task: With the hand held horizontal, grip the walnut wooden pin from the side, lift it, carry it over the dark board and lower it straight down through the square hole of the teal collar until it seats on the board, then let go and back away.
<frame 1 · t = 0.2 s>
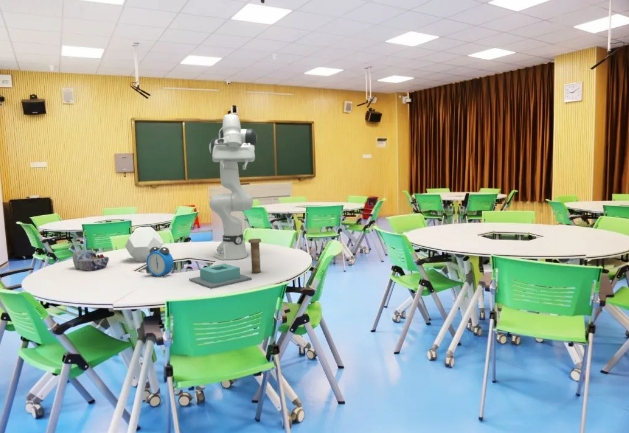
hand: (234, 169, 215), 54 cm above the table, tool tilted 25°, fingers open, 8 cm apart
pin: (256, 272, 235), on the table
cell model: (90, 269, 259), on the table
geometric form: (146, 260, 277), on the table
alarm clock: (161, 275, 235), on the table
socket board: (220, 280, 221), on the table
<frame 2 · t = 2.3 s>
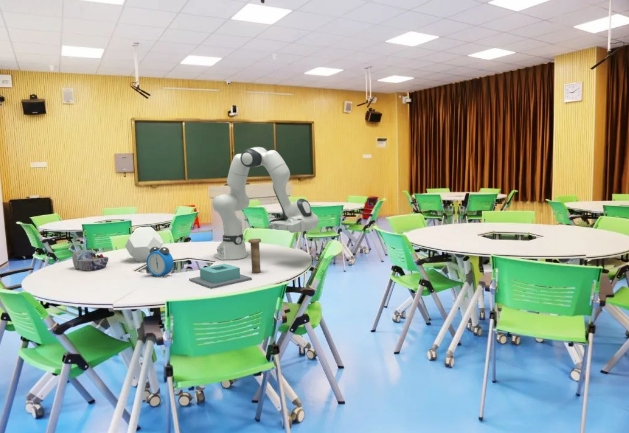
hand: (273, 227, 240), 22 cm above the table, tool horizontal, fingers open, 8 cm apart
nothing on the table moved.
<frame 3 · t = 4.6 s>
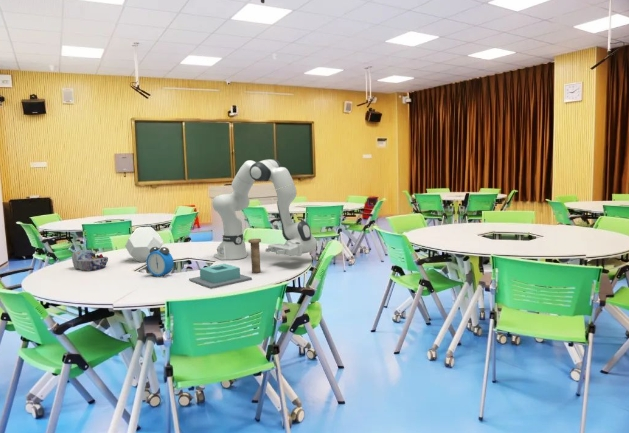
hand: (271, 251, 240), 9 cm above the table, tool horizontal, fingers open, 8 cm apart
nothing on the table moved.
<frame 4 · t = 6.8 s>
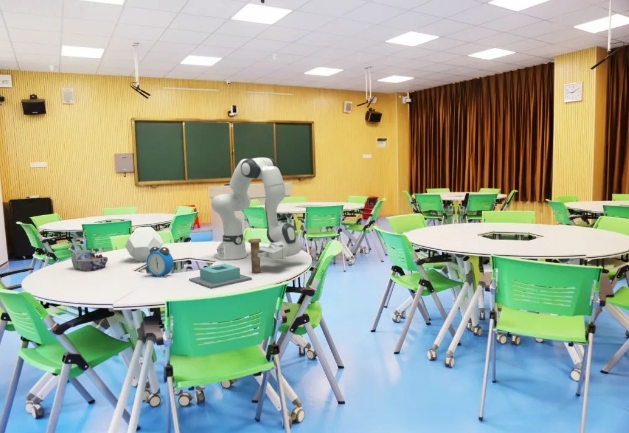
hand: (253, 254, 233), 10 cm above the table, tool horizontal, fingers closed on pin, 4 cm apart
pin: (256, 272, 235), on the table, touching gripper
everything else where it was.
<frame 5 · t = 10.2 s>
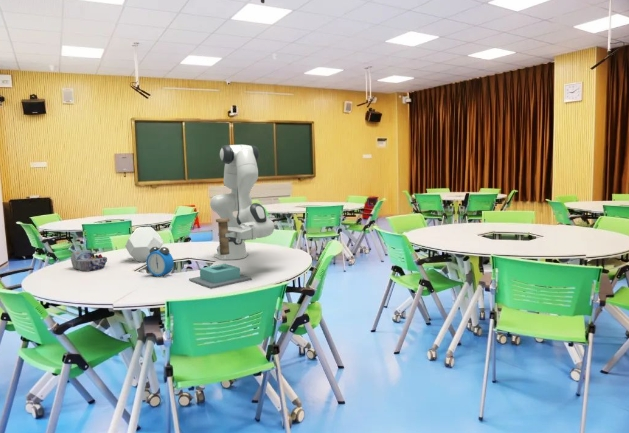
hand: (221, 234, 220), 22 cm above the table, tool horizontal, fingers closed on pin, 4 cm apart
pin: (224, 253, 221), point 13 cm above the table, touching gripper
everything else where it was.
when the fingers open (11 cm above the table, at t = 13.4 s): pin stays where it is, resting on socket board.
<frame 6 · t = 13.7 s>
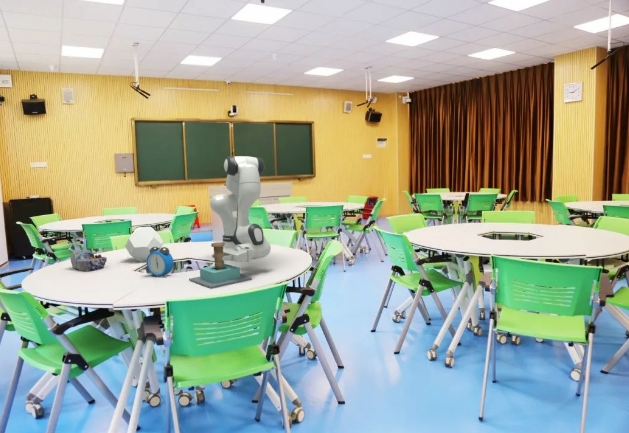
hand: (217, 257, 219), 11 cm above the table, tool horizontal, fingers open, 7 cm apart
pin: (220, 278, 221), point 1 cm above the table, touching socket board
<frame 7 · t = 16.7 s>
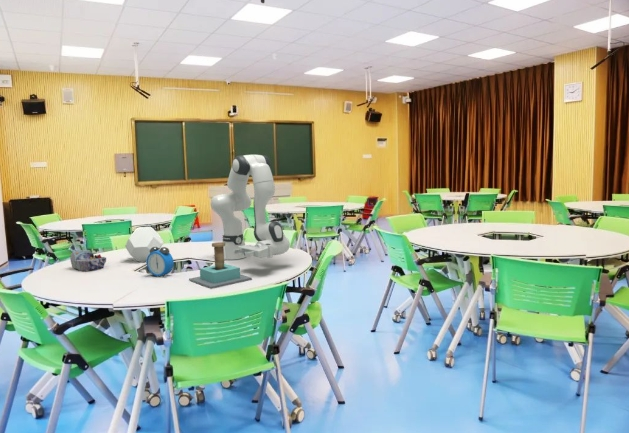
hand: (239, 253, 227), 11 cm above the table, tool horizontal, fingers open, 8 cm apart
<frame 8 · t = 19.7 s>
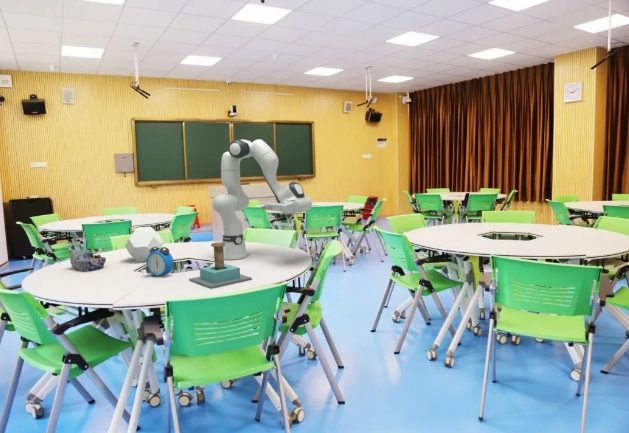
hand: (267, 208, 243), 32 cm above the table, tool horizontal, fingers open, 8 cm apart
at the end: pin 0.1 cm off-centre on the socket board, point 1.0 cm above the socket board's base; pin tilted 0°; the gripper is holding nothing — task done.
